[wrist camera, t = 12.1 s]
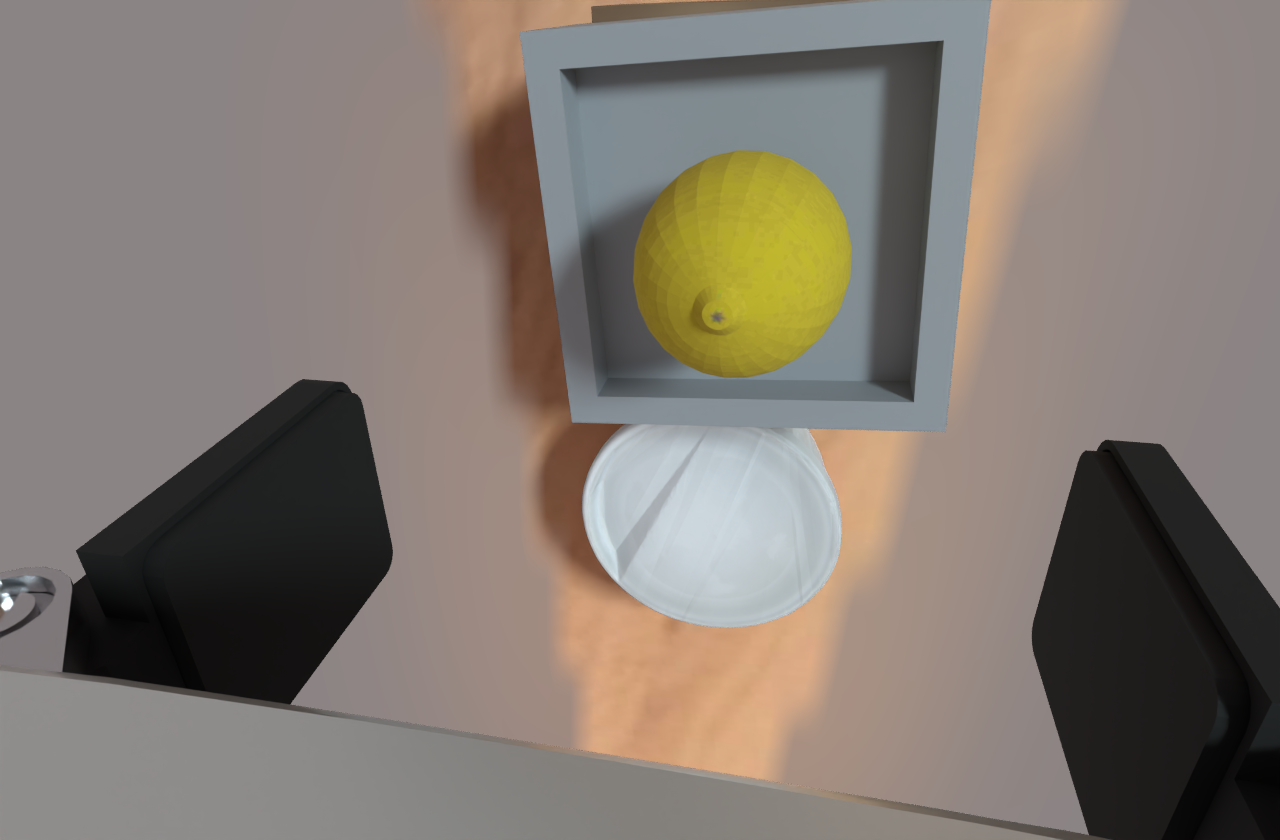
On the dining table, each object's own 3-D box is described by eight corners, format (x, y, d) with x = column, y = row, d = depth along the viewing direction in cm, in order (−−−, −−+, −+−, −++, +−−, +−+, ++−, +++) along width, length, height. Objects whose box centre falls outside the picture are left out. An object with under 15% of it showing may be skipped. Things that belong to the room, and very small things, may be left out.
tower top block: (575, 24, 27) (519, 32, 22) (960, -10, 24) (991, -9, 19) (610, 358, 32) (572, 422, 27) (927, 361, 29) (945, 432, 25)
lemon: (665, 298, 26) (592, 407, 19) (678, 120, 24) (599, 173, 17) (837, 323, 25) (824, 446, 18) (871, 138, 23) (871, 203, 16)
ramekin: (593, 362, 38) (561, 413, 33) (839, 355, 35) (841, 409, 31) (623, 556, 43) (599, 624, 38) (840, 562, 40) (842, 636, 36)
